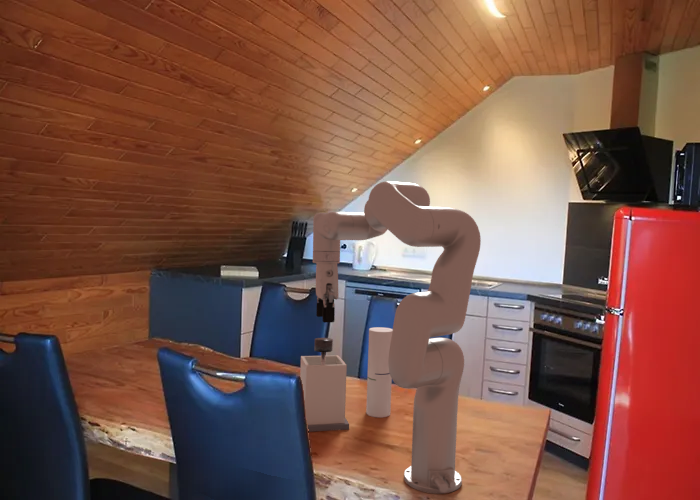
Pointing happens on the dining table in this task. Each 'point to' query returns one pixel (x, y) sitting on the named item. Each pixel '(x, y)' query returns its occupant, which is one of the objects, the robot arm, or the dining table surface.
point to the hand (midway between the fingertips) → (325, 319)
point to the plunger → (323, 347)
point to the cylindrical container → (379, 373)
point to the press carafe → (324, 392)
